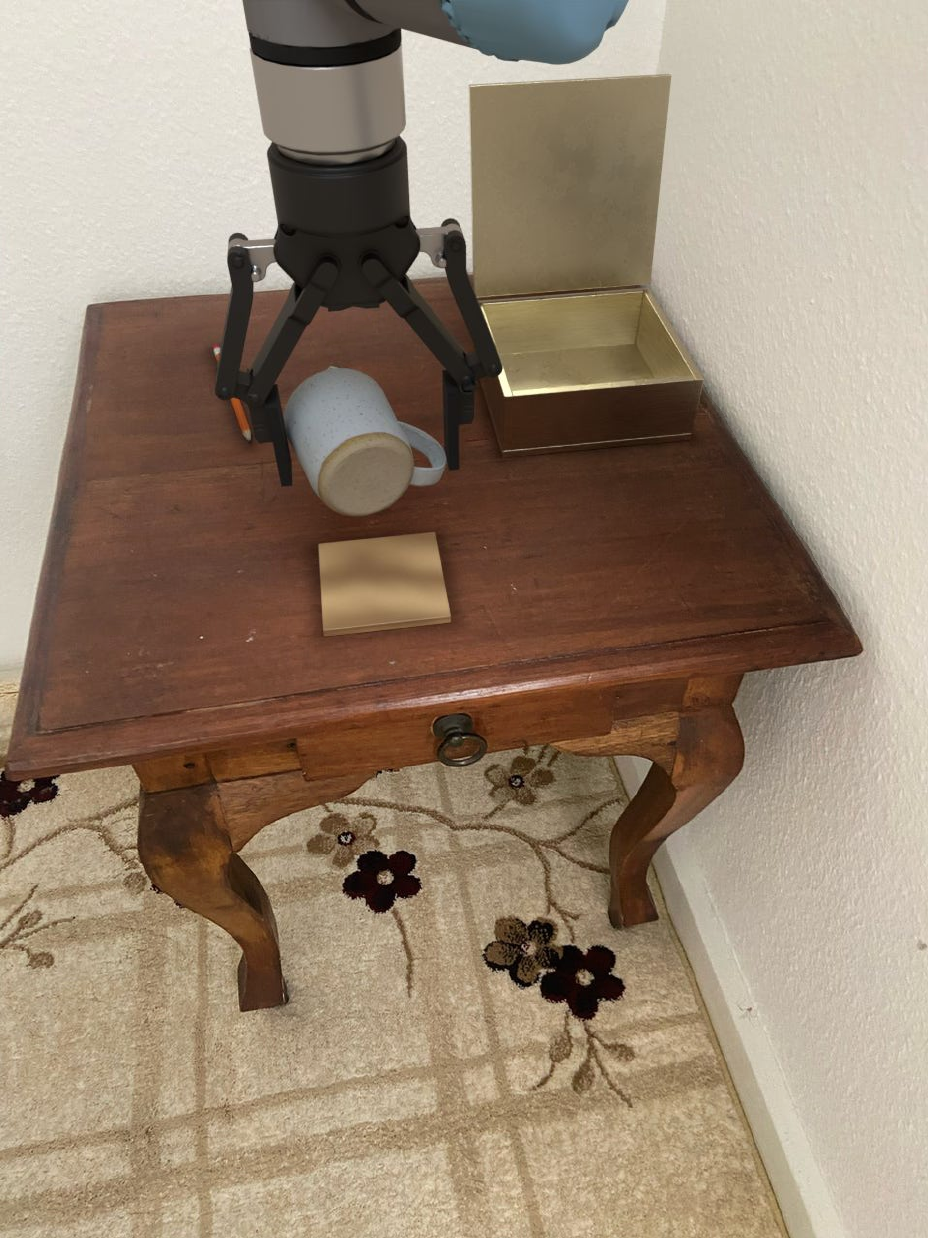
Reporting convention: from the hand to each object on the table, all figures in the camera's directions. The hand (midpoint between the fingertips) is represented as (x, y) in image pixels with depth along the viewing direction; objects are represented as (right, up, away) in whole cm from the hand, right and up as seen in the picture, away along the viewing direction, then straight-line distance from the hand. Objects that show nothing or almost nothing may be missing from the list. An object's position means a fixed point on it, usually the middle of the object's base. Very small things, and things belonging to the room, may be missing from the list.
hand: (370, 466), depth 63 cm
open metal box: (+18, +12, +27) cm, 35 cm away
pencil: (-17, +12, +28) cm, 35 cm away
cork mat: (0, -8, +9) cm, 12 cm away
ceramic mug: (0, -1, +1) cm, 1 cm away
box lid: (+17, +30, +21) cm, 41 cm away
